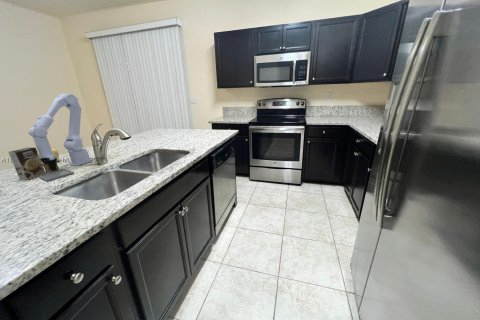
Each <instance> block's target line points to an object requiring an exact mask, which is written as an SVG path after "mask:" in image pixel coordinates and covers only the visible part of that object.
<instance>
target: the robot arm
mask: <svg viewBox="0 0 480 320" xmlns="http://www.w3.org/2000/svg"><path fill="white" fill-rule="evenodd" d="M63 107H66V108H67V109H68V110H69V119H68V120H69V121H68V123H69V125H68V134H67V137H65V141H64V142H63V147H64V148H65V149H66V150H67V152H68V155H69V156H68V157H69V158H70V161H71V163H69V165H71V166H73V167H77V166H80V165H84V164H87V163H90V162H92V160H91V158H90V157H91V156H90V154H89V151H88V150H87V149H86V148H84V145H83V142H82V141H83V140H82V138H81V136H80V131H81V117H82V116H81V115H82V107H81V105H80V104H79V99H78V97H77V96H76V95H74V94H73V93H69V92H68V93H59V94H57V95H56V97H55V98H54V99H53V101H52V102H51V105H50V106H49V108H48V110H47V111H46V113H45V114H41V115H38V117H37V119H38V120H37V121H36V122H35V123H33V124H32V127H30V128H29V130H28V135H29V136H31V137H32V139H33V142H34V145H35V146H36V147H35V148H36V150H37V151H38V152H39V155H40V156H39V157H38V158H41V159H40V160H41V161H42V162H43V163H44V164H47V165H48V166H49V168H50V169H51V171H54V170H56V163H57V162H58V161H57V158H54V154H53V152H52V149H51V148H52V147H51V144H50V142H49V139H48V137H47V135H48V130H49V129H50V127H51V126H52V124H53V123H54V116H55V115H57V113H58V112H59V110H60V109H61V108H63ZM56 161H57V162H56Z"/></svg>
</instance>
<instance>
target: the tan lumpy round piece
mask: <svg viewBox="0 0 480 320" xmlns="http://www.w3.org/2000/svg"><path fill="white" fill-rule="evenodd" d="M51 149H52V152H53V154H54V158H57V161H56V163H57V162H58V160H59V158H60V155H59V152H58V149H57V148H53V147H51ZM37 152H38V150H37ZM38 155H39V152H38ZM39 156H40V155H39ZM40 159H41V158H40ZM41 163H42V165H44V163H43V162H42V161H41Z"/></svg>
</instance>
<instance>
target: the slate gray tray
mask: <svg viewBox="0 0 480 320" xmlns="http://www.w3.org/2000/svg"><path fill="white" fill-rule="evenodd" d="M72 175H75V173H74V171H73V170H70V169H67V168H62V169H59V170H58V171H54V172H50V173H46V174H43V175H40V176H38V177H39V179H41V180H43V181H44V182H47V183H49V182H52V181H55V180H59V179H62V178H65V177H68V176H72Z"/></svg>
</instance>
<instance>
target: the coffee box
mask: <svg viewBox="0 0 480 320" xmlns="http://www.w3.org/2000/svg"><path fill="white" fill-rule="evenodd" d="M37 151H38V150H37V147H25V148H20V149H15V150H11V151H8V155H9V157H10V159H11V163H12V164H13V167H14V169H15V172H16V174H17V176H18V178H19V180H21V181H30V180H32V179H35V178H37V177H39V176H40V175H43V174H47V173H46V171H45V168H44V166H43V164H42V163H41V160H40V158H38V157H39V155H38V152H37Z"/></svg>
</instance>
